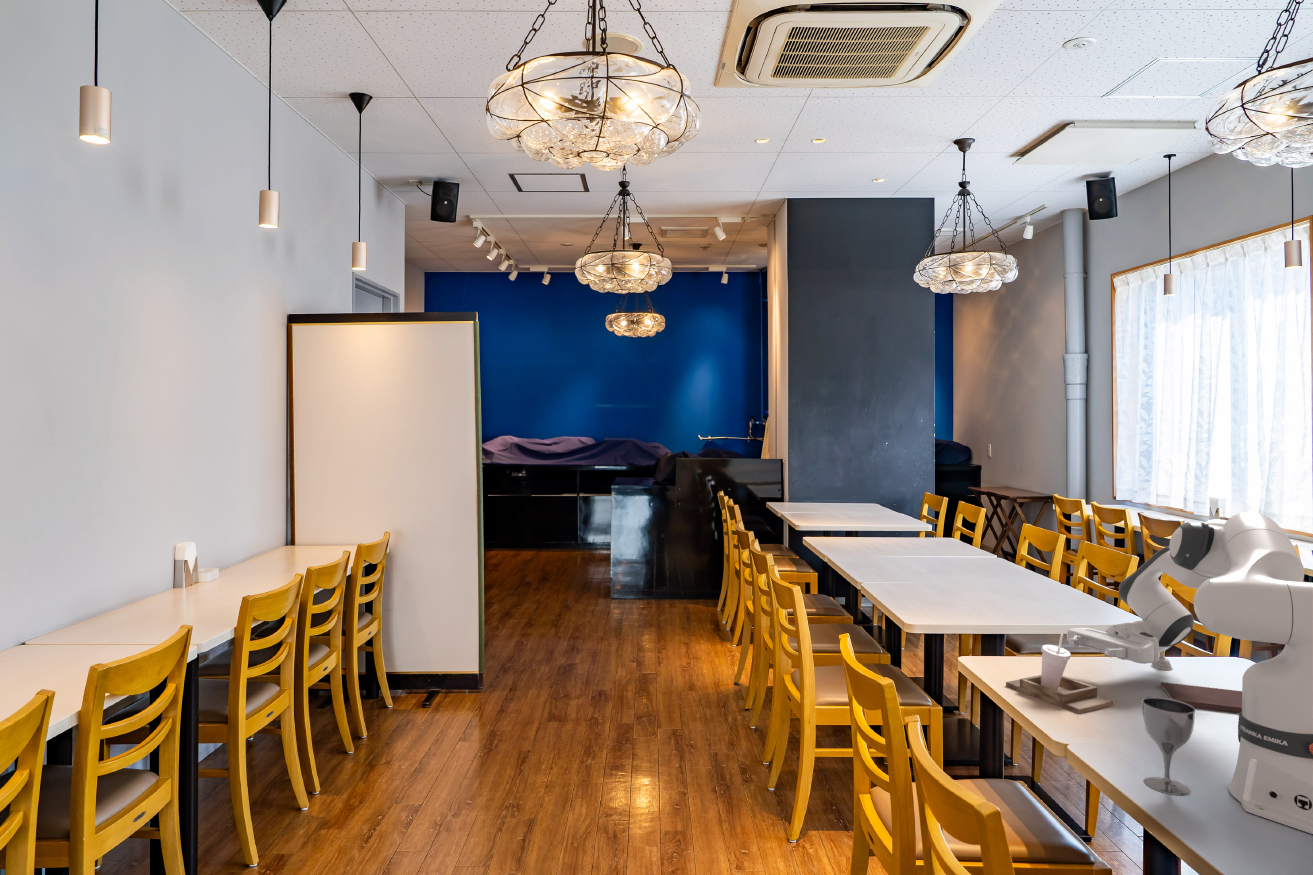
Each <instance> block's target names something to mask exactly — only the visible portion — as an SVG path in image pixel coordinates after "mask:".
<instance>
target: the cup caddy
mask: <svg viewBox="0 0 1313 875" xmlns="http://www.w3.org/2000/svg"><path fill="white" fill-rule="evenodd" d="M1005 686H1006V687H1007V688H1010V689H1013V690H1015V689H1016V691H1018V692H1020V693H1023V692H1024V693H1023V694H1026V695H1029V696H1032V697H1033V698H1037V699H1040V700H1043V701H1045V702H1047V703H1050V704H1052V705H1056V706H1059V707H1062V708H1064V709H1067V710H1069V711H1071V712H1075V713H1078V714H1083V713H1088V712H1091V711H1096V710H1100V709H1104V708H1108V707H1113V706H1114V701H1113V700H1111V699H1108V698H1105V697H1102V696H1100V695H1098V686H1094V685H1092V684H1089V683H1088V684H1087V682H1083V681H1080V680H1076V679H1073V678H1070V677H1068V676H1064V675H1062V678H1061V681H1060V683H1059V686H1058V689H1057V690H1054V689H1051V688H1048V687H1045V686H1042V685H1041V674H1038V675H1033V676H1028V677H1024V678H1019V679H1014V680H1010V681H1005Z"/></svg>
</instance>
